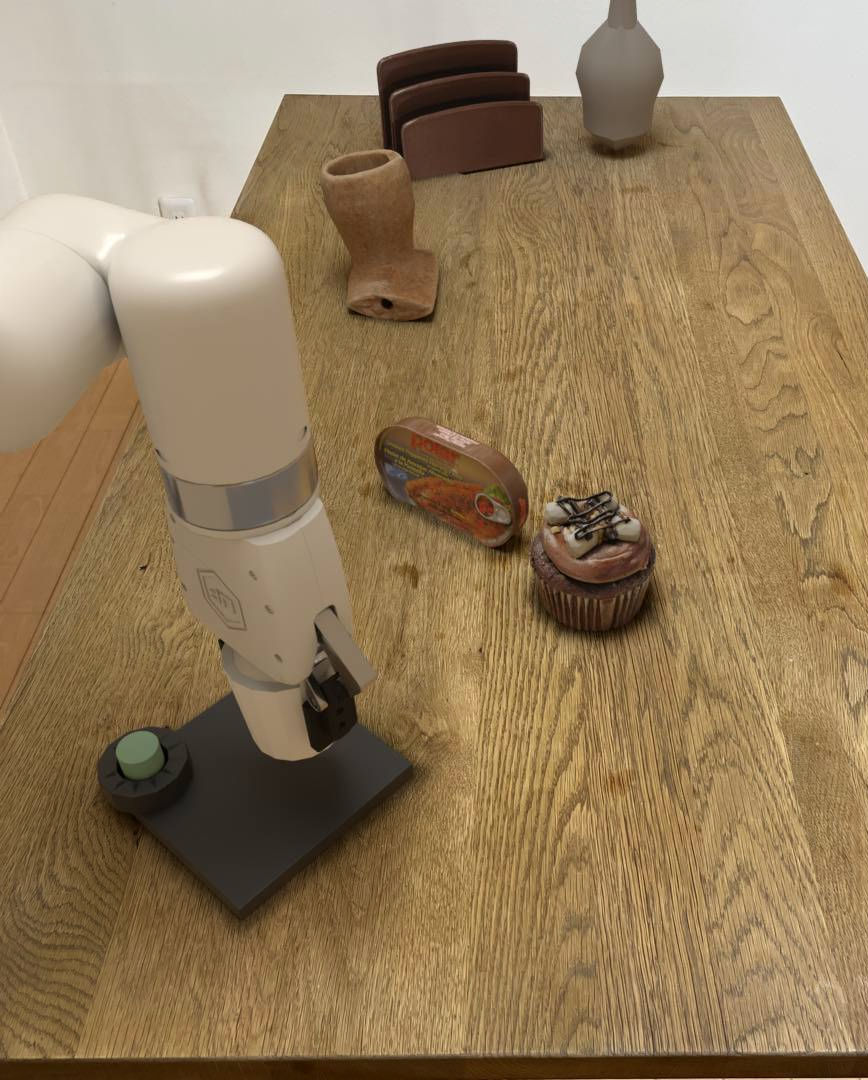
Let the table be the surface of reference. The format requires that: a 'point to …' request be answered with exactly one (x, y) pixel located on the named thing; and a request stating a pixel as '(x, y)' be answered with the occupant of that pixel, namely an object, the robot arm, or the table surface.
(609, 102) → the bottle
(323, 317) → the table surface
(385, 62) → the letter holder
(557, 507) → the cupcake
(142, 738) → the button
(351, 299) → the clay boot vessel
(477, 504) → the tin
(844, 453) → the table surface
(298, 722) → the white cup
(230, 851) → the scale
